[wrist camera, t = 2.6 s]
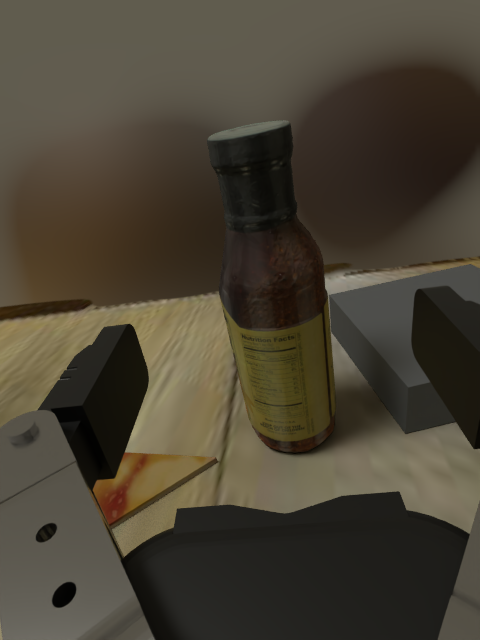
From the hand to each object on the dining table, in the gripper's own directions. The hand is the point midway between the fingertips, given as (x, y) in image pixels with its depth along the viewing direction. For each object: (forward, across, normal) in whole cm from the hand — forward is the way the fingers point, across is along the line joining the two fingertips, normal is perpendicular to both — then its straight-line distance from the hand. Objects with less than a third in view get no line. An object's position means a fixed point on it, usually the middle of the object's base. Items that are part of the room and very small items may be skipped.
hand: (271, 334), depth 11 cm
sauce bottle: (+12, 0, +15) cm, 19 cm away
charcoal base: (+18, -14, +15) cm, 27 cm away
